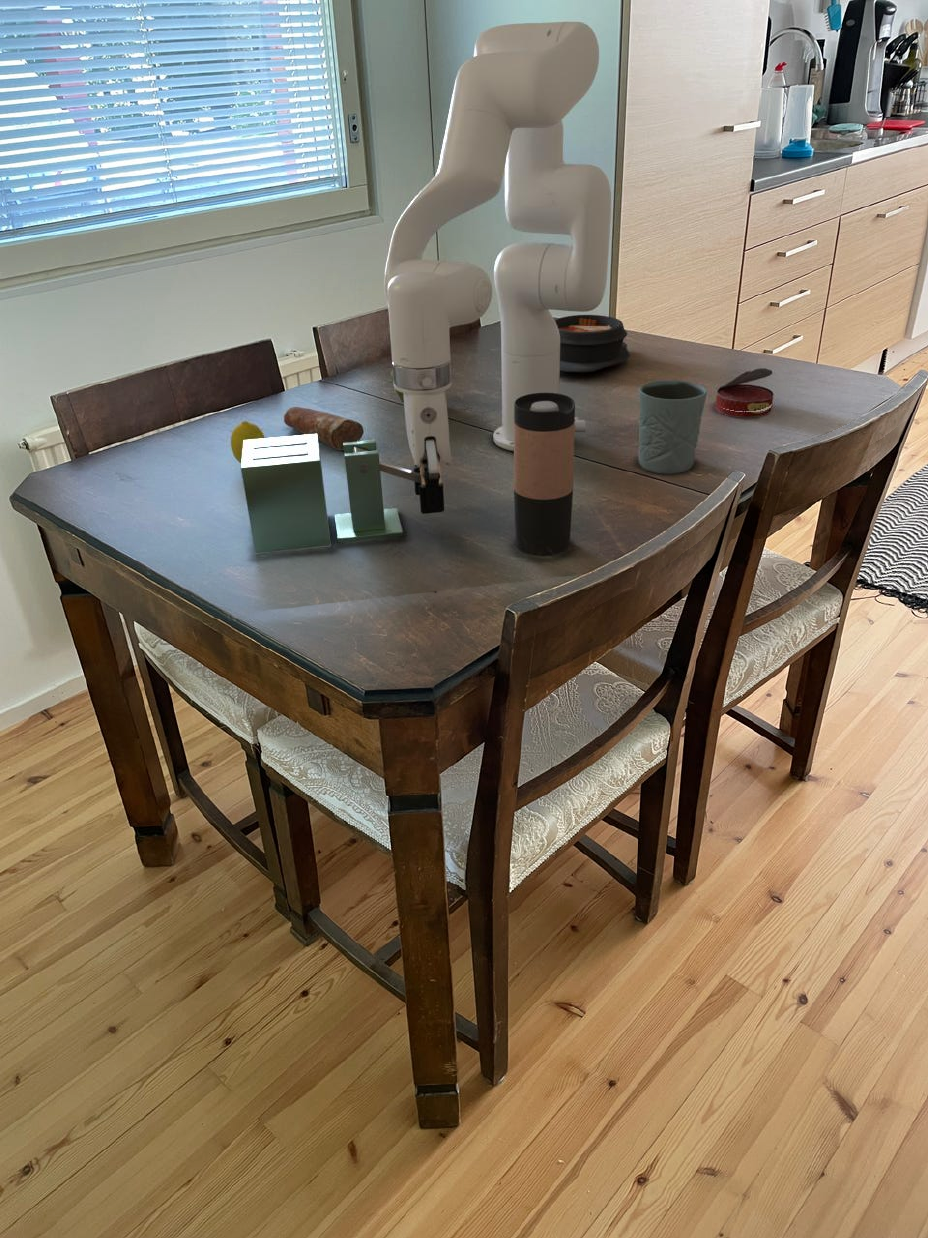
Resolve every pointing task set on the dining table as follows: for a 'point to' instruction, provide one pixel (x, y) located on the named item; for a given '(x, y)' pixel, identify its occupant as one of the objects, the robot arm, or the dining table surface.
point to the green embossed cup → (669, 424)
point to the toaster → (285, 494)
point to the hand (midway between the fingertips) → (429, 501)
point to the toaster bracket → (365, 498)
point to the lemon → (244, 437)
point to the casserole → (591, 342)
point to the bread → (324, 426)
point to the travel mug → (543, 472)
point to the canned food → (745, 396)
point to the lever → (395, 469)
